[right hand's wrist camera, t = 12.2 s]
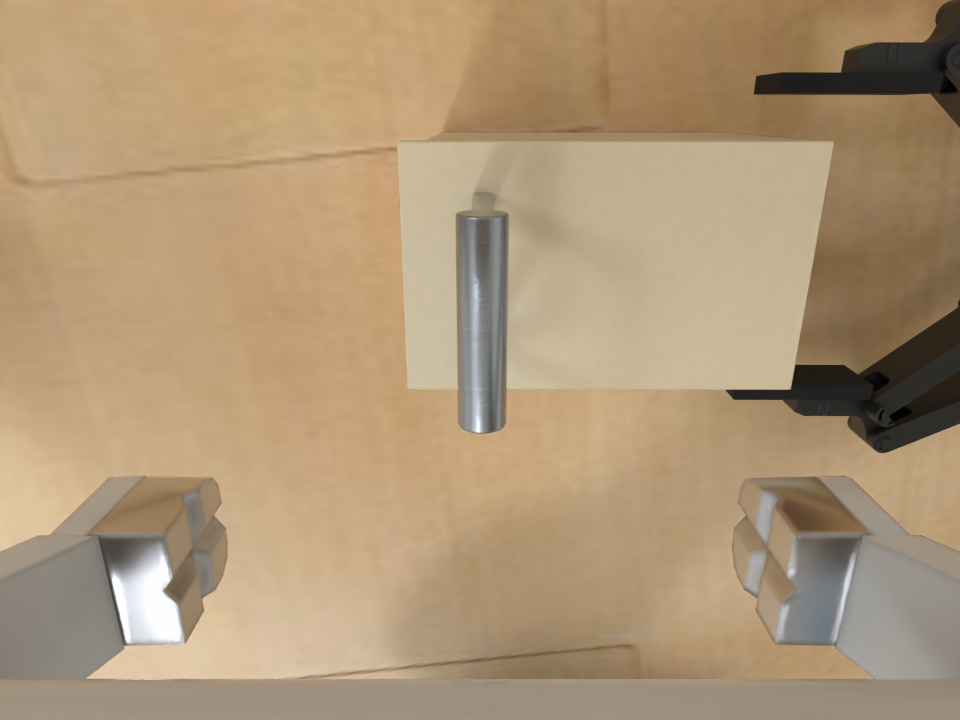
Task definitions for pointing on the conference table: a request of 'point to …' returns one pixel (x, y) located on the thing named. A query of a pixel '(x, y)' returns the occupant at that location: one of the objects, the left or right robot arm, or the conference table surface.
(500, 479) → the conference table surface
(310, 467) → the conference table surface
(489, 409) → the lid
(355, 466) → the conference table surface
